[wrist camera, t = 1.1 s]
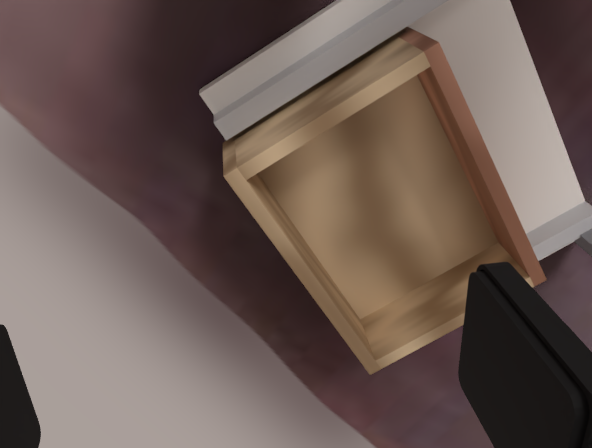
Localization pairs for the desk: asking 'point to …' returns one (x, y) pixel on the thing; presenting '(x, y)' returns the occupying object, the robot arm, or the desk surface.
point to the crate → (381, 197)
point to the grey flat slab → (469, 75)
